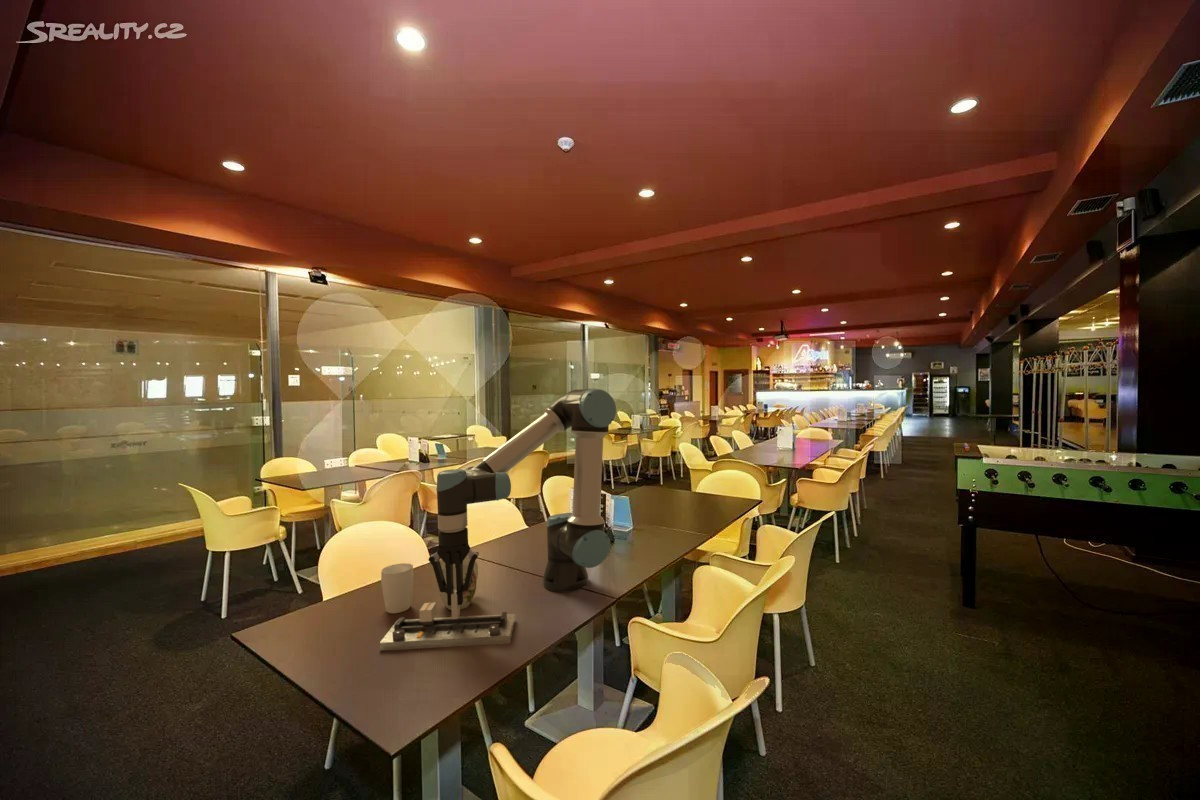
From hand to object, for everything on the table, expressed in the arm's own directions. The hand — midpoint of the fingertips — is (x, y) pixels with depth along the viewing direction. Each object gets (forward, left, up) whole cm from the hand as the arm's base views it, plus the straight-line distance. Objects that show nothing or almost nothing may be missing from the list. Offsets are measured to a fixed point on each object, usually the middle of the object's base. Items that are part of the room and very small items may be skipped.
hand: (455, 616), depth 125 cm
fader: (+7, 0, -2) cm, 7 cm away
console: (+1, +1, -4) cm, 4 cm away
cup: (+21, -17, -5) cm, 27 cm away
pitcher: (+3, -18, -5) cm, 19 cm away
